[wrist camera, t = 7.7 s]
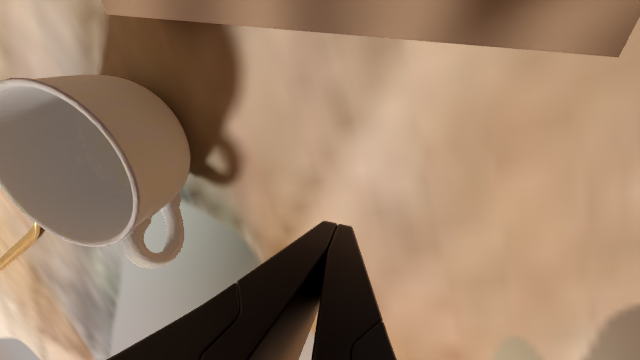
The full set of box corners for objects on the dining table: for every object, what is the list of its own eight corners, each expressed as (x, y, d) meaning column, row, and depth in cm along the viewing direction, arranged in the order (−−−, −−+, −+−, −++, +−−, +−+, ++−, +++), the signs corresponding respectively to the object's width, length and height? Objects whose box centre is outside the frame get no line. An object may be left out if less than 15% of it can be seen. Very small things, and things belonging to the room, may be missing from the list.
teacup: (71, 90, 24) (-64, 115, 17) (164, 41, 20) (37, 46, 13) (161, 227, 29) (85, 290, 22) (250, 210, 25) (191, 279, 18)
